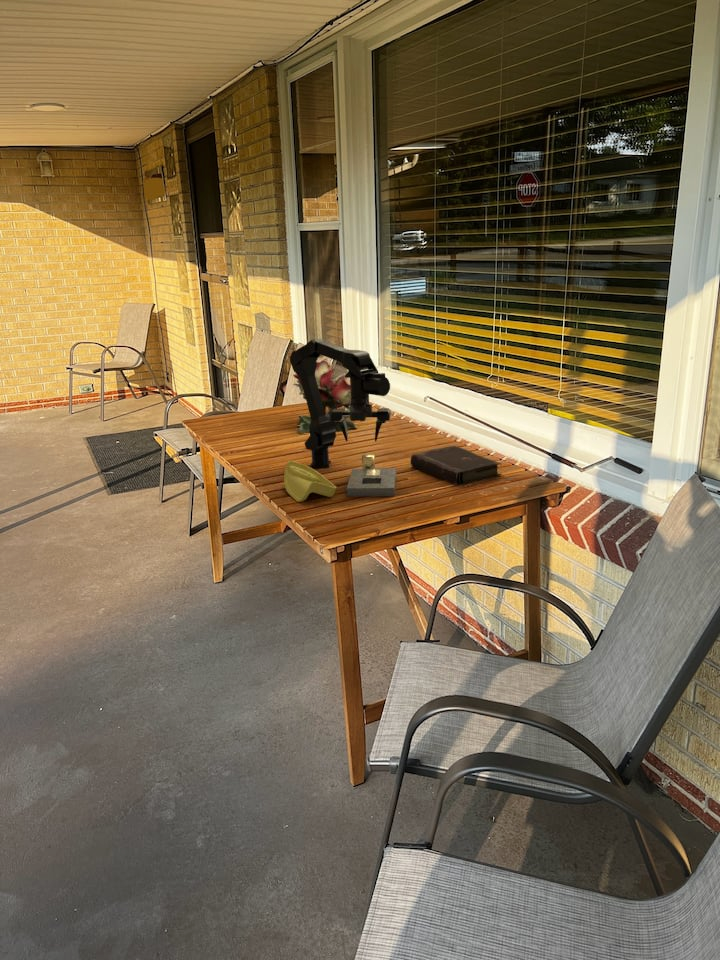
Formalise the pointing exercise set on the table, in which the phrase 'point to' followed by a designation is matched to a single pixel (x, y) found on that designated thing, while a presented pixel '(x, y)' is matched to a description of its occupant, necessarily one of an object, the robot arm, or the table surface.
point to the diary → (455, 465)
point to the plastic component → (305, 482)
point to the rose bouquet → (327, 393)
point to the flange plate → (372, 482)
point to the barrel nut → (368, 461)
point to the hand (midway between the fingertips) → (361, 441)
